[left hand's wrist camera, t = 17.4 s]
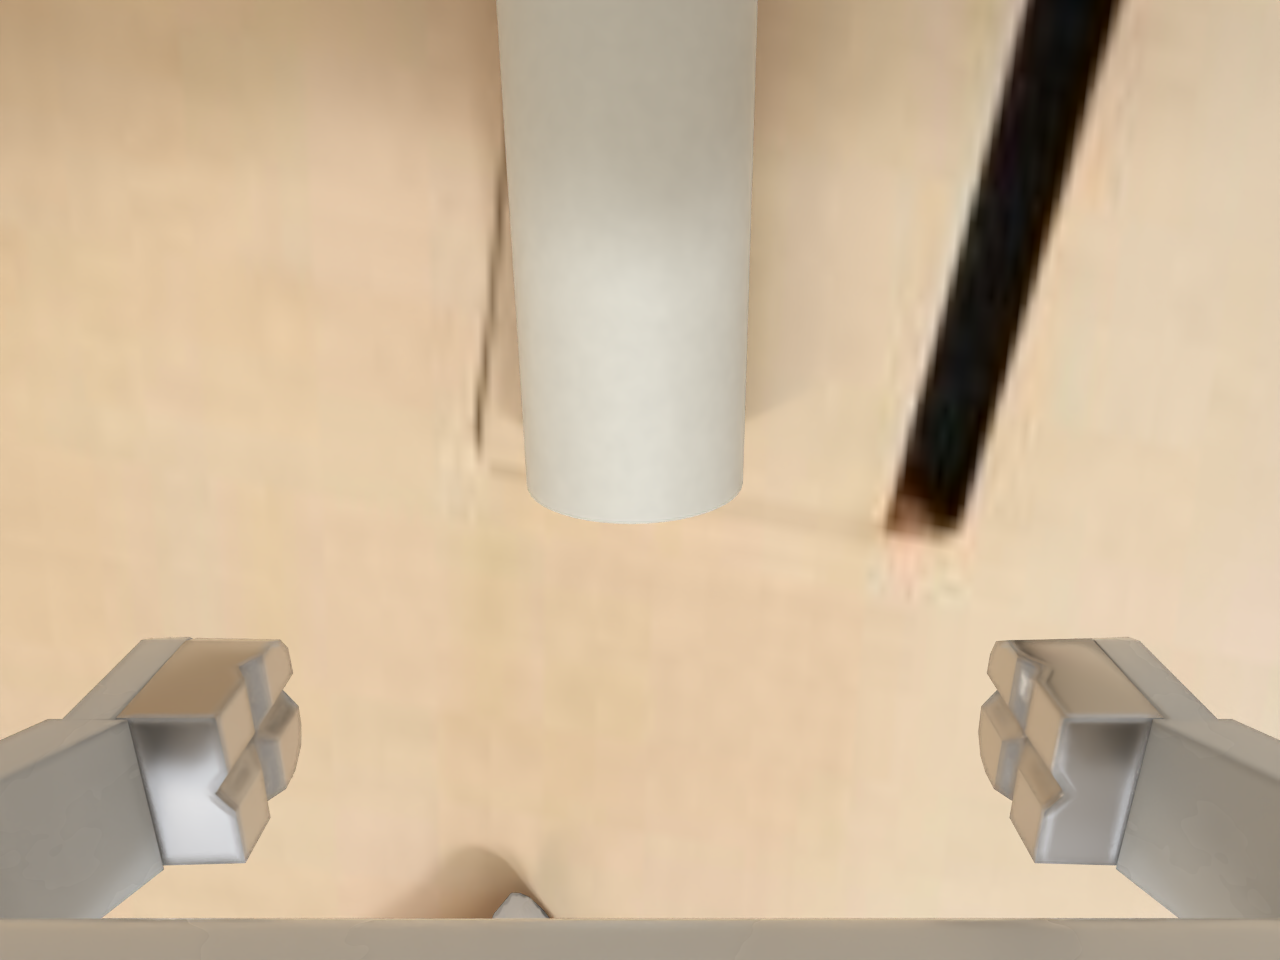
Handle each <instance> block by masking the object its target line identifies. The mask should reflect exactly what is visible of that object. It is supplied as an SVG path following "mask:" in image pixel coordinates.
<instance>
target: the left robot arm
mask: <svg viewBox="0 0 1280 960" xmlns="http://www.w3.org/2000/svg"><path fill="white" fill-rule="evenodd" d="M292 674H293V670H292V665H291V660H290V655H289V650H288V647H287V646H286V645H285V644H284V643H283V642H282V641H281V640H274V639H223V638H195V639H193V638H190V637H178V638H150V639H145V640H141V641H140V642H139V643H138V644H137V645H136V646H135V647H134V648H133V649H132V650H131V651H130V652H129V653H128V654H127V655H126V656H125V657H124V658H123V659H122V660H121V661H120V662H119V663H118V664H117V665H116V666H115V667H114V668H113V669H112V670H111V671H110V672H109V673H108V674H107V675H106V676H105V677H104V678H103V679H102V680H101V681H100V682H99V683H98V684H97V685H96V686H95V687H94V688H93V689H92V690H91V691H90V692H89V693H88V694H87V695H86V696H85V697H84V698H83V699H82V700H81V701H80V702H79V703H78V704H77V705H76V706H75V707H74V708H73V709H72V710H71V711H70V712H69V713H68V714H67V715H66V716H65V717H64V718H63V719H47V720H45V721H43V722H40V723H38V724H36V725H34V726H31V727H29V728H27V729H25V730H22V731H20V732H18V733H16V734H13V735H11V736H9V737H6V738H4V739H2V740H0V960H1280V740H1278V739H1276V738H1273V737H1271V736H1269V735H1267V734H1264V733H1262V732H1260V731H1258V730H1255V729H1253V728H1251V727H1249V726H1246V725H1244V724H1242V723H1240V722H1237V721H1235V720H1233V719H1217V718H1216V717H1215V716H1214V715H1213V714H1212V713H1211V712H1210V711H1209V710H1208V709H1207V708H1206V707H1205V706H1204V705H1203V704H1202V703H1201V702H1200V701H1199V700H1198V699H1197V698H1196V697H1195V696H1194V695H1193V694H1192V693H1191V692H1190V691H1189V690H1188V689H1187V688H1186V687H1185V686H1184V685H1183V684H1182V683H1181V682H1180V681H1179V680H1178V679H1177V678H1176V677H1175V676H1174V675H1173V674H1172V673H1171V672H1170V671H1169V670H1168V669H1167V668H1166V667H1165V666H1164V665H1163V664H1162V663H1161V662H1160V661H1159V660H1158V659H1157V658H1156V657H1155V656H1154V655H1153V654H1152V653H1151V652H1150V651H1149V650H1148V649H1147V648H1146V647H1145V646H1144V645H1143V644H1142V643H1141V642H1140V641H1138V640H1135V639H1132V638H1130V637H1115V638H1088V639H1048V640H1008V641H996V643H995V645H994V647H993V649H992V651H991V654H990V658H989V664H988V670H987V674H988V676H989V677H990V679H991V680H992V682H993V684H994V685H995V687H996V688H997V691H996V692H995V693H994V694H993V695H992V696H991V697H990V698H989V699H988V700H987V701H986V702H985V703H984V704H983V705H982V706H981V714H980V722H979V730H978V733H979V744H980V755H981V759H982V762H983V765H984V769H985V772H986V774H987V776H988V778H989V780H990V782H991V784H992V786H993V788H994V789H995V790H997V791H998V792H1000V793H1001V794H1003V795H1004V796H1006V797H1007V798H1009V799H1010V800H1012V807H1011V812H1010V819H1011V821H1012V823H1013V825H1014V826H1015V828H1016V830H1017V832H1018V834H1019V835H1020V837H1021V839H1022V841H1023V843H1024V845H1025V846H1026V848H1027V850H1028V852H1029V854H1030V855H1031V857H1032V859H1033V861H1034V863H1052V864H1088V865H1117V866H1116V869H1117V870H1118V871H1119V872H1121V873H1122V874H1123V875H1124V876H1126V877H1127V878H1128V879H1129V880H1131V881H1132V882H1133V883H1135V884H1136V885H1137V886H1138V887H1140V888H1141V889H1142V890H1144V891H1145V892H1146V893H1147V894H1149V895H1150V896H1151V897H1152V898H1154V899H1155V900H1156V901H1158V902H1159V903H1160V904H1161V905H1163V906H1164V907H1165V908H1167V909H1168V910H1169V911H1170V912H1172V913H1173V914H1174V915H1175V916H1177V917H1178V918H818V919H816V918H815V919H638V918H637V919H634V918H632V919H631V918H102V917H104V916H105V915H106V914H107V913H109V912H110V911H111V910H112V909H114V908H115V907H116V906H118V905H119V904H120V903H121V902H123V901H124V900H125V899H127V898H128V897H129V896H130V895H132V894H133V893H134V892H136V891H137V890H138V889H139V888H141V887H142V886H143V885H144V884H146V883H147V882H148V881H150V880H151V879H152V878H153V877H155V876H156V875H157V874H159V873H160V872H161V871H162V870H163V869H164V867H163V865H191V864H226V863H246V861H247V859H248V857H249V856H250V854H251V852H252V850H253V848H254V846H255V845H256V843H257V841H258V839H259V837H260V836H261V834H262V832H263V830H264V828H265V826H266V825H267V823H268V821H269V819H270V812H269V807H268V800H270V799H271V798H273V797H274V796H276V795H277V794H279V793H280V792H282V791H283V790H285V789H286V788H287V786H288V784H289V782H290V780H291V778H292V776H293V774H294V772H295V770H296V765H297V761H298V757H299V752H300V748H301V720H300V713H299V706H298V705H297V704H296V703H295V702H294V701H293V700H292V699H291V698H290V697H289V696H288V695H287V694H286V693H285V692H284V691H283V688H284V687H285V685H286V684H287V682H288V680H289V679H290V677H291V676H292Z"/></svg>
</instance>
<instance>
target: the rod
mask: <svg viewBox="0 0 1280 960" xmlns="http://www.w3.org/2000/svg"><path fill="white" fill-rule="evenodd" d="M496 8H497V23H498V39H499V55H500V71H501V86H502V102H503V118H504V134H505V149H506V165H507V181H508V196H509V212H510V228H511V244H512V259H513V275H514V291H515V306H516V322H517V338H518V354H519V369H520V385H521V401H522V417H523V432H524V448H525V464H526V479H527V488H528V491H529V493H530V495H531V497H532V498H533V499H534V500H535V501H536V502H538V503H539V504H541V505H542V506H544V507H546V508H548V509H550V510H552V511H554V512H557V513H560V514H562V515H566V516H570V517H573V518H578V519H583V520H588V521H595V522H603V523H617V524H643V523H658V522H667V521H674V520H680V519H685V518H690V517H694V516H697V515H701V514H704V513H707V512H710V511H712V510H715V509H717V508H719V507H721V506H723V505H725V504H727V503H728V502H730V501H731V500H733V499H734V498H735V497H736V496H737V495H738V493H739V492H740V490H741V488H742V484H743V464H744V431H745V399H746V367H747V334H748V302H749V269H750V237H751V205H752V172H753V140H754V108H755V75H756V43H757V10H758V0H496Z"/></svg>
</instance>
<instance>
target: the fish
mask: <svg viewBox="0 0 1280 960" xmlns="http://www.w3.org/2000/svg"><path fill="white" fill-rule="evenodd" d="M493 918H549V917H548V915H547V914H546V913H545V912H544V910H543V909H542V908H541V907H539V906H538V905H537V904H536V903H535V902H534V901H533V900H532V899H531V898H530V897H528V896H525V895H523V894H521V893H511V894H510V895H509V896H508V897H507V899H506V900H505V901H504V902H503V904H502V905H501V906H500V907H499V908H498V909H497V911H496V912H495V913H494V915H493Z"/></svg>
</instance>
